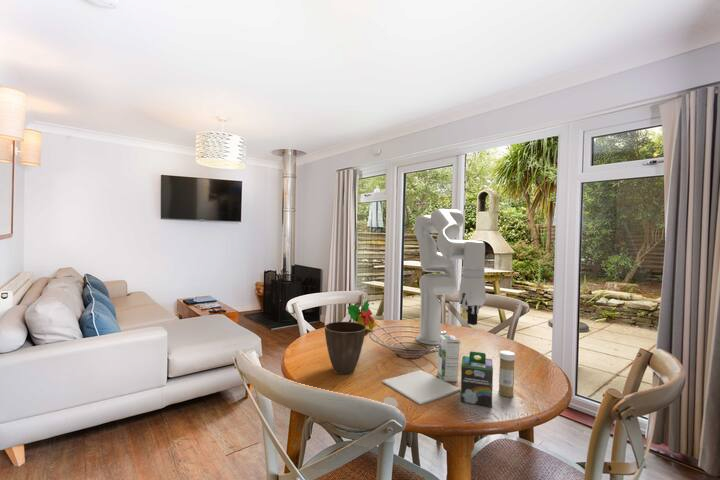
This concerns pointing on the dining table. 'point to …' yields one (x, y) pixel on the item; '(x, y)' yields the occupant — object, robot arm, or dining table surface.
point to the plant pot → (344, 345)
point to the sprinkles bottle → (506, 373)
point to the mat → (421, 386)
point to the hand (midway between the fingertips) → (472, 324)
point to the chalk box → (477, 379)
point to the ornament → (362, 316)
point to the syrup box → (448, 358)
